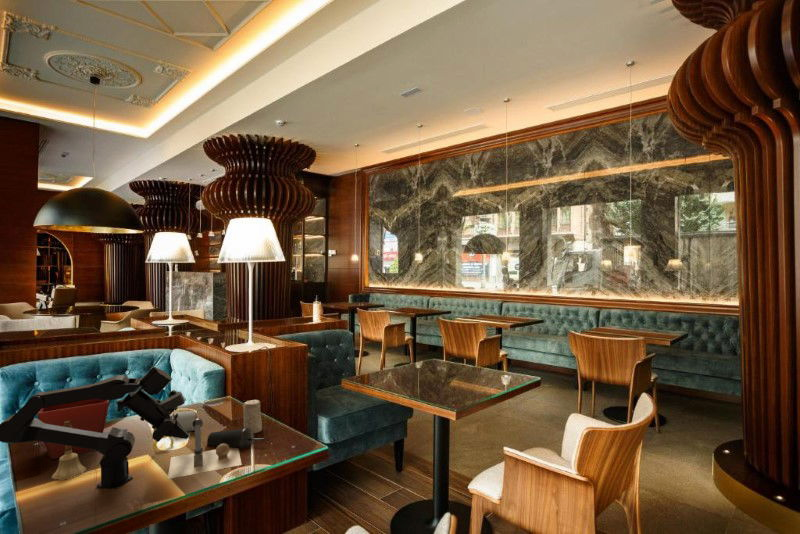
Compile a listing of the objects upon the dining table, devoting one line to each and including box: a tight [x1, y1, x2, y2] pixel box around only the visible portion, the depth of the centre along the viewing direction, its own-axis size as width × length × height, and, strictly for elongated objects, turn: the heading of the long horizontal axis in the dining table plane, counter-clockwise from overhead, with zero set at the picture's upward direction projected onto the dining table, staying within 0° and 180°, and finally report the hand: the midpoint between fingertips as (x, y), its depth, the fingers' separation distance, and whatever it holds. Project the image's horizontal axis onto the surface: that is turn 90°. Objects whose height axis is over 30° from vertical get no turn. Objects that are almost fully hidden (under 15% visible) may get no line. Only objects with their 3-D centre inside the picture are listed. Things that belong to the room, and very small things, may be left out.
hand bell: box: [51, 421, 87, 480], centre depth 134 cm, size 8×8×16 cm
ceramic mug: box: [172, 410, 198, 433], centre depth 168 cm, size 11×8×8 cm
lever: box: [192, 417, 204, 454], centre depth 136 cm, size 3×4×12 cm
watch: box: [152, 436, 174, 452], centre depth 148 cm, size 6×3×6 cm, turn 139°
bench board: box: [167, 445, 242, 480], centre depth 137 cm, size 20×16×5 cm
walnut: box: [215, 443, 229, 460], centre depth 139 cm, size 4×4×4 cm
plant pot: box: [36, 399, 110, 460], centre depth 152 cm, size 19×19×17 cm
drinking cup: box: [206, 428, 265, 450], centre depth 149 cm, size 8×8×20 cm
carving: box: [242, 399, 263, 434], centre depth 162 cm, size 6×8×12 cm
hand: (188, 437), depth 135 cm, fingers closed
